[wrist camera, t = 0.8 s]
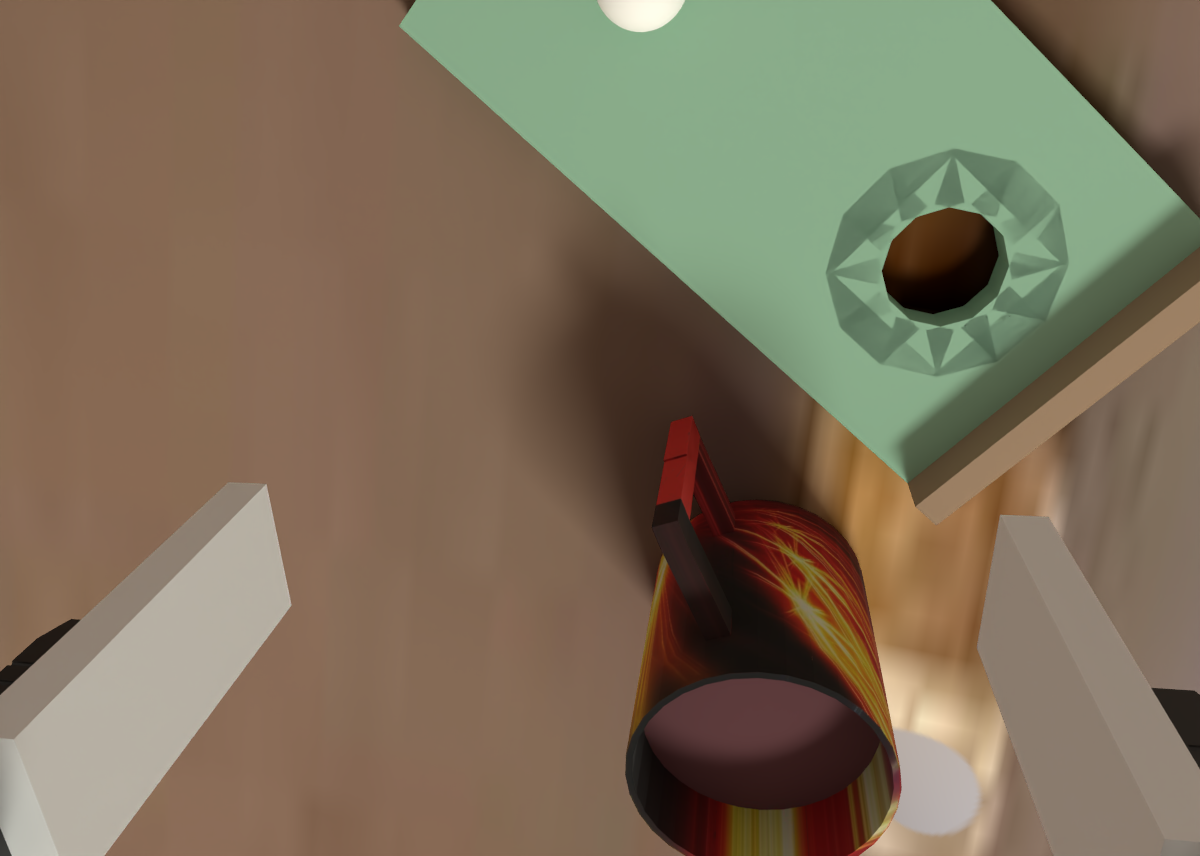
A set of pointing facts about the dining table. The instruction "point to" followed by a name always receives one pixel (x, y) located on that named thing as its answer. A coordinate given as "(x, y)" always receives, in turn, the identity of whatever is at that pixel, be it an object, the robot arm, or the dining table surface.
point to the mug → (757, 679)
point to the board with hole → (858, 201)
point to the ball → (640, 13)
